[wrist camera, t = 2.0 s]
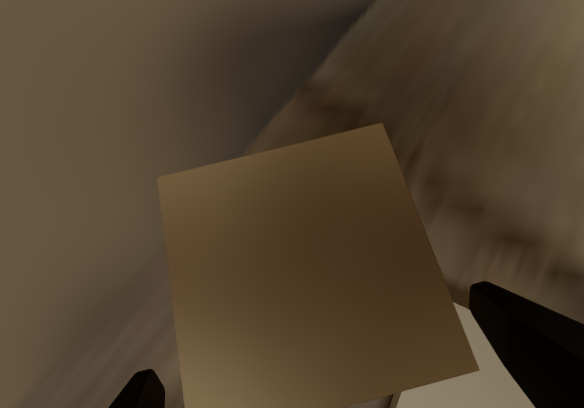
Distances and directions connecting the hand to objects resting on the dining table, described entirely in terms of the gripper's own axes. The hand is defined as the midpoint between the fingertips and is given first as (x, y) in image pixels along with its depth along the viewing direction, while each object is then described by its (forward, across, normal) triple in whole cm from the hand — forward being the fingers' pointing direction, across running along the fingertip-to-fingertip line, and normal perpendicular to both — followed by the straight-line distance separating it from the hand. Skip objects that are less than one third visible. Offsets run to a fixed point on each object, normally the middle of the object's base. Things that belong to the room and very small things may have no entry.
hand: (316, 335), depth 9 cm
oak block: (+7, 0, +5) cm, 9 cm away
